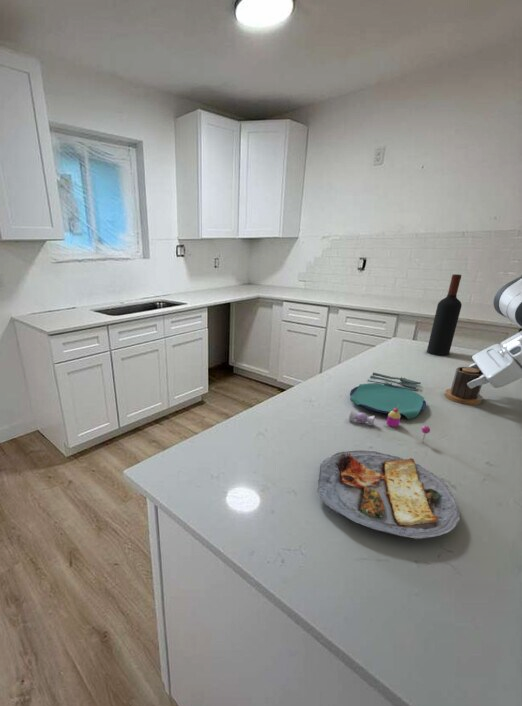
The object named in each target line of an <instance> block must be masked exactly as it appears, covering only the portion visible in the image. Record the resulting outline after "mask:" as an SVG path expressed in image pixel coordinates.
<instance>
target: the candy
mask: <svg viewBox="0 0 522 706" xmlns="http://www.w3.org/2000/svg"><path fill="white" fill-rule="evenodd" d="M398 406H399V405H398ZM398 406H397V407H398ZM397 407H396V408H394V409H393V411H391V412H389V414H387V419H386V424H387V426H388V427H389V426H390V427H392V428H396V427H398V426H400V422H401V417H402V415H400V413H399V412H398V409H397ZM375 419H376V416H375V415H371V416H368V414H366V413H365V412H359V413H356V412H355V411H353V410H351V411H350V413H349V419H348V421H353V420H356V422H357V423H359V424H365V423H368V425H371V426H372V427H373V426H374V424H375V423H374V422H375ZM421 432H422V434H423V437H422V440H421V443H422V444H424V441H425V438H426V434H429V433H431V428H430V426H428V425H423V426H422V427H421Z"/></svg>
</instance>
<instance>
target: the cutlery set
mask: <svg viewBox="0 0 522 706" xmlns="http://www.w3.org/2000/svg"><path fill="white" fill-rule="evenodd" d="M369 378H370V379H367V383H359V385H358V386H355V387H354V388H352V389H351V390H350V393H349V396H350V398H349V400H350V402H351V403H353V404H354V405H356V406H361V407H363V408H365V409H367V410H370V411H373V412H376V413H380V414H386V415H388V414H389V412H391V411H393V409H394V408H396V407H397V406H398V405H399V406H398V407H397V409H398V412H399V413H400V415H401V416H405V417H406V418H407V420H412V419H414V418H416V417H418V415H419V414H420V413H422V412H423V411H424V410H425V409H427V401H426V400H425V397H424V396H422V395H420V394H419V393H417V392H418V391H419V389H416V388H420V387H421V384H422V382H421V381H415V380H412V379H408V378H406V377H402V376H401V377H397V376H396V377H395V376H389V375H385V374H382V373H377V372H372V375H370V377H369ZM371 379H374V380H381V381H386V382H381V381H374V380H371ZM395 380H399V381H395ZM389 382H390V383H389ZM392 383H394V384H392Z"/></svg>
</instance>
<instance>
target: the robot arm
mask: <svg viewBox="0 0 522 706" xmlns="http://www.w3.org/2000/svg"><path fill="white" fill-rule="evenodd" d="M493 308H494V311H496V312H497V313H498V314H499V315H500V316H502V317H504V318H506V319H508V320H509V321H510V322H512V323H513V324H514V325H516V326H517V327H519V328H521V329H522V274H521V275H520V276H518V277H516V278H515V279H513V280H511V281H510V282H507V283H506V284H505V285H503V286H501V287H500V288H499V289H498V291H497V292H496V294H495V296H494V297H493ZM471 358H472V360H473V362H474V363H471V364H470V365H469V366H468V367H472V368H477V369H480V370H481V371H482V373H483V375H481V376H480V378H477V379H474V380H472V379H471V380H470V381H468V382H466V384H467V385H468V387H469V388H471V389H472V388H474V387H476V386H479V385H482V386H483V385H486V384H488V383H489V384H490V385H491V386H492V387H493V388H494V389H498V388H503V387H505V386H507V385H510V384H512V383H514V382H516V381H518V380H520V379H522V330H521V331H519V332H516V333H515V334H513V335H512V336H510V337H507V338H506V339H505V340H503V341H501V342H500V344H499V343H495V344H493V345H490V346H488V347H485V348H484V349H482V350H480V351H478V352H477V353H475V354H474V355H473V356H471Z"/></svg>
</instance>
